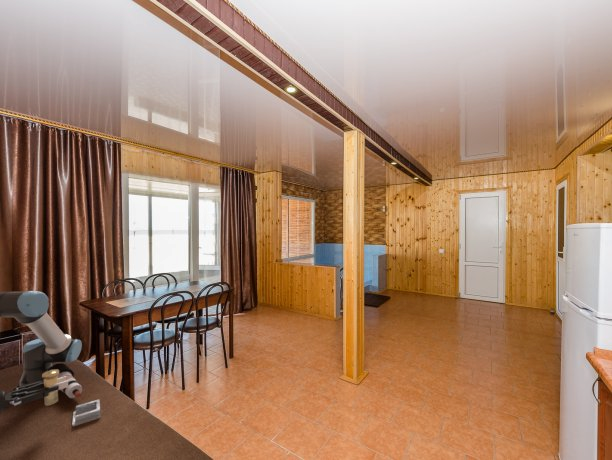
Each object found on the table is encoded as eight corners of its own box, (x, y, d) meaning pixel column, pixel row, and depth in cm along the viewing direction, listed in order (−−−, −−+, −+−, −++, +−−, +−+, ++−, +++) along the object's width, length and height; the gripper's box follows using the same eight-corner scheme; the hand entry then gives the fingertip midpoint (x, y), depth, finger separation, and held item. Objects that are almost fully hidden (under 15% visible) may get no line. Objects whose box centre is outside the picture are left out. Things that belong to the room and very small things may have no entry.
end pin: (43, 401, 129) (42, 371, 129) (60, 396, 132) (59, 368, 132) (41, 407, 125) (41, 377, 124) (59, 403, 128) (58, 373, 127)
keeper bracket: (73, 413, 138) (73, 406, 138) (99, 405, 144) (99, 398, 143) (72, 426, 129) (72, 419, 129) (100, 417, 135) (100, 410, 135)
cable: (73, 411, 142) (61, 397, 138) (51, 386, 162) (40, 373, 158) (95, 393, 149) (84, 380, 145) (71, 371, 169) (61, 359, 165)
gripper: (-9, 404, 122) (64, 382, 138) (-10, 424, 109) (70, 397, 126) (-9, 386, 121) (64, 366, 138) (-11, 404, 109) (70, 380, 126)
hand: (67, 381), depth 132 cm, fingers closed on end pin, 4 cm apart
